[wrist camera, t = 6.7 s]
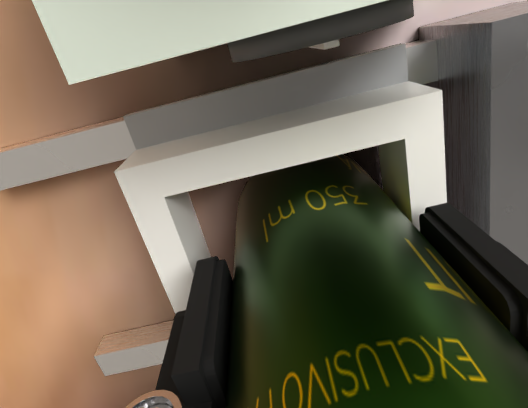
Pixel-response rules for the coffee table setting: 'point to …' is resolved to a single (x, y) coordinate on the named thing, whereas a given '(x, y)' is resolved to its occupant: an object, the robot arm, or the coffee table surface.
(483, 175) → the rail track
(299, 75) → the frame
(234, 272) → the beer can
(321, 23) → the pale green hollow cube
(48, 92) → the coffee table surface
